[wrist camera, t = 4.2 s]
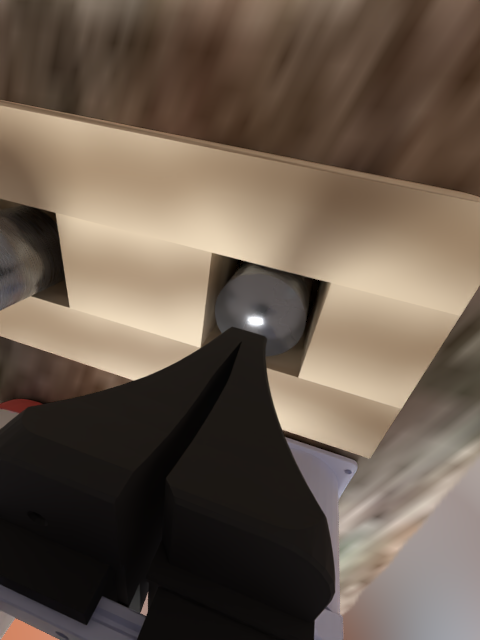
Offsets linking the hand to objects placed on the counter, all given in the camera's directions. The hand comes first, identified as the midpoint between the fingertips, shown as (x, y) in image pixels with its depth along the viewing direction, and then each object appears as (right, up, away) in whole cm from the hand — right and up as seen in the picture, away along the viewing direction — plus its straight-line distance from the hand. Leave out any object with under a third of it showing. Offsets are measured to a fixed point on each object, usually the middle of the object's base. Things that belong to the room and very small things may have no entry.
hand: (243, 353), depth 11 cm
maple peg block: (-4, +5, +7) cm, 10 cm away
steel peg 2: (+2, +4, +6) cm, 8 cm away
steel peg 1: (-10, +5, +5) cm, 13 cm away
